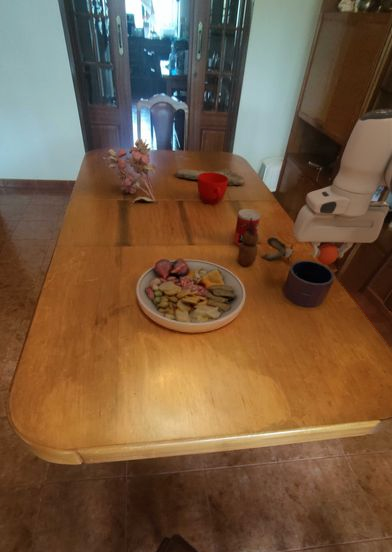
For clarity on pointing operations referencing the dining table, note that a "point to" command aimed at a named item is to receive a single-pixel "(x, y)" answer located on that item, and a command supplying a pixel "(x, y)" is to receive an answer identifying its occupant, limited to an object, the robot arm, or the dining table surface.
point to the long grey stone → (232, 177)
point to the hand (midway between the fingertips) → (326, 256)
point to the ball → (328, 253)
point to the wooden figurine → (248, 246)
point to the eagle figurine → (280, 247)
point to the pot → (308, 283)
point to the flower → (138, 165)
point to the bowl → (190, 295)
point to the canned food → (245, 224)
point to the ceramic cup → (212, 187)
